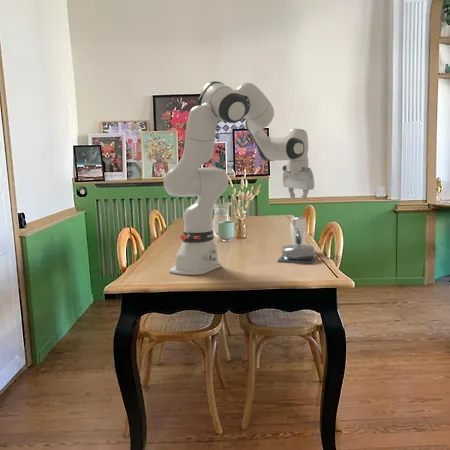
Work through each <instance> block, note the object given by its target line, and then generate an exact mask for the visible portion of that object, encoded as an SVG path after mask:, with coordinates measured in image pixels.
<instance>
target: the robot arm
mask: <svg viewBox="0 0 450 450" xmlns="http://www.w3.org/2000/svg"><path fill="white" fill-rule="evenodd" d="M197 101H198V105H196V106H193V107H192V108H191V109H190V110H189V114H188V118H187V121H186V127H185V128H186V129H185V138H184V139H185V140H184V147H183V153H182V156H181V157H180V159H179V161H178V162H177V164H175V166H174V167H173V168H171V169H170V170H168V171H167V172H166V173H165V175H164V178H163V187H164V190H165V192H166V193H167V194H168V195H169V196H174V197H180V198H184V197H197V199H196V200H195V202H194V203H193V204H191V205H190V206H188V207H187V208H186V209H184V213H183V233H182V234H180V236H179V239H180V240H182V243H181V245H180V247H179V248H178V251H177V253H176V256H175V264H174V265H173V266H172V267H171V268H170V269H169V273H171V274H175V275H191V276H193V275H194V276H195V275H203V274H206V273H209V272H212V271H213V270H217V269H218V268H221V267H222V265H223V264H222V263H221V262H219V254H218V253H219V252H218V247H217V244H216V243H215V242H214V236H215V235H214V230H213V211H214V208H215V205H216V202H217V200H218V199H219V198H220V196H221V195H222V194H223V193H225V192H226V190H227V188H228V186H229V176H228V174H227V172H226V171H225V170H224V169H223V168H218V167H202V165H204V164H205V163H208V162H209V161H210V160H211V159H212V158H213V156H214V153H215V152H214V151H215V143H216V142H215V140H216V131H217V129H216V128H217V125H218V122H219V121H220V119H221V120H222V121H224V122H226V123H229V124H236V123H239V122H241V121H242V120H243V119H244V118H245V121H244V122H245V128H246V130H247V132H248V134H249V135H250V137H251V140H253V142H254V145H255V146H256V148H257V151H258V154H259V157H260V158H261V159H262V160H263V161H265V162H272V161H273V162H274V161H287V163H286V164H284V165H282V167H281V169H282V170H281V171H282V185H283V187H284V188H287V189H288V193H289V198H290V199H295V198H296V193H295V192H294V191H295V190H296V189H298V190H302V195H301V200H303V201H305V200H307V198H308V194H309V191H311V190H314V188H315V178H314V173H313V170H312V169H311V168H310V167H309V157H308V153H309V137H308V133H307V131H306V130H305V129H303V128H302V129H300V128H292V129H290V130H289V131H288V134H287V135H285V137H284V136H283V137H280V136H279V137H273V136H272V137H270V136H267V134H266V132H265V129H266V128H267V127H268V126H269V125H270V124H271V123H272V121H273V120H274V117H275V109H274V106H273V104H272V103H271V101H270V100H269V99H268V97H267V96H266V95H265V94H264V92H263V91H262V90H261V89H260V88H259V87H258V86H257V85H255V84H254V83H251V82H244V83H242V84H240V85H238V87H237V88H236V89H233V88H232V87H231V86H229V85H226V84H224V83H223V82H220V81H215V80H214V81H209V82H207V83H206V84H205V85H204V86H203V87H202V90H201V92H200V95H199V98H198V100H197Z"/></svg>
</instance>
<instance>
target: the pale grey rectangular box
mask: <svg viewBox="0 0 450 450" xmlns="http://www.w3.org/2000/svg"><path fill="white" fill-rule="evenodd" d="M289 228H290V236H291V242H292V244H291V245H305V239H306V234H307V219H306V217H303V216H292V217H290V227H289Z"/></svg>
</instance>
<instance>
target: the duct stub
mask: <svg viewBox="0 0 450 450" xmlns="http://www.w3.org/2000/svg"><path fill="white" fill-rule="evenodd" d="M281 253H282V254H281V256H280V257H279V258H278V260H277V263H286V264H287V263H288V264H290V263H293V264H294V263H295V264H307V265H310V264H311V265H312V264H313V263H314V262H315V261H316V259H317V258H318V257H317V256H319V255H318V254H315V247H314V246H312V245H305V244H304V245H292V244H288V245H285V246H282V249H281Z"/></svg>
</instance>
